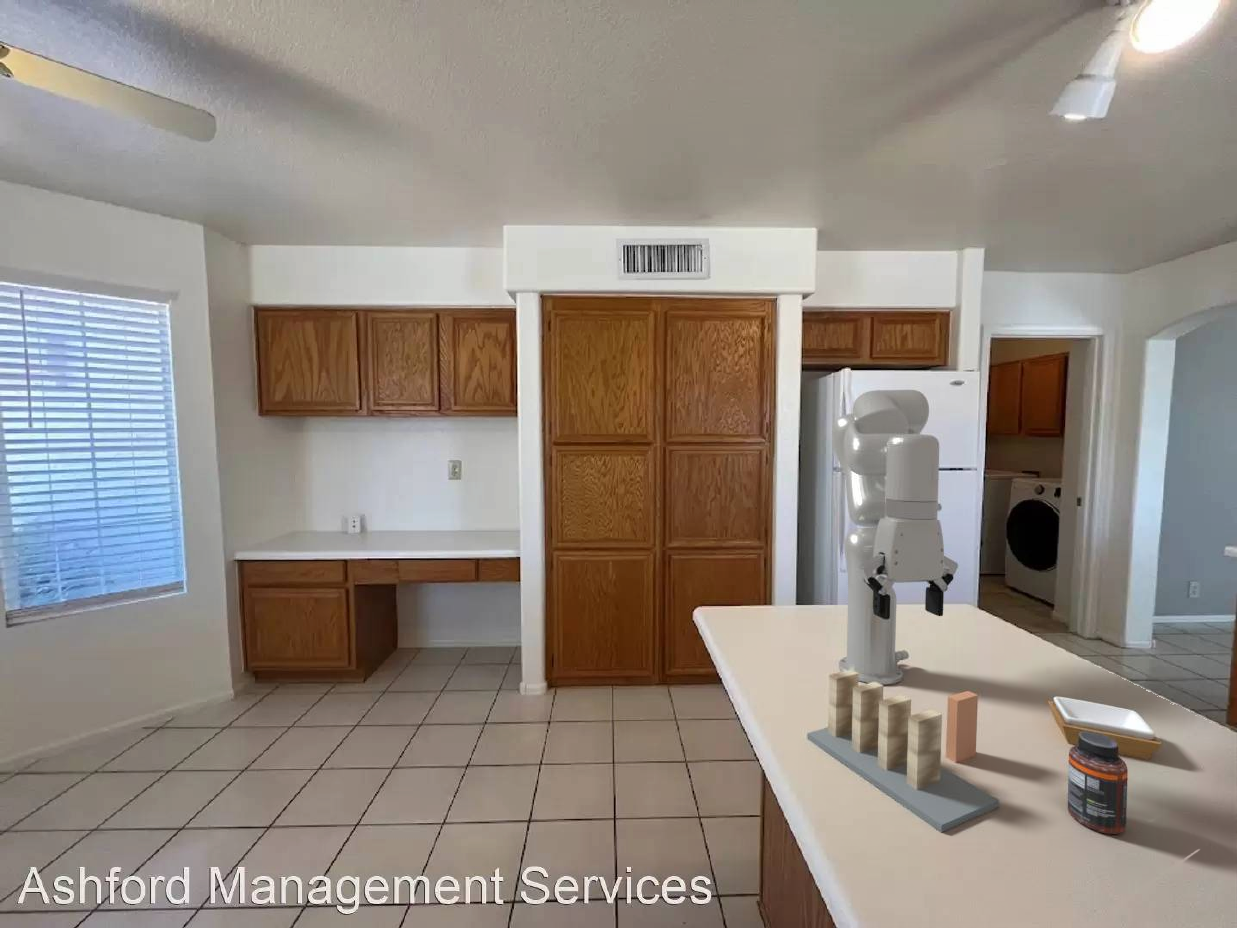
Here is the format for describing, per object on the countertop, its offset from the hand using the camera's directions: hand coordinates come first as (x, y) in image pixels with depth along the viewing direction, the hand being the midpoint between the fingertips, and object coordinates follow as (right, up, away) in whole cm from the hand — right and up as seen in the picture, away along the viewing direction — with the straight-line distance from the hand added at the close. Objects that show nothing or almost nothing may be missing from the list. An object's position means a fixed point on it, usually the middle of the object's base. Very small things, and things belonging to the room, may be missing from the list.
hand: (907, 615), depth 88 cm
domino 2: (-7, -21, 0) cm, 22 cm away
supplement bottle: (+17, -24, -16) cm, 33 cm away
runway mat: (-5, -23, -4) cm, 24 cm away
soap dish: (+35, -23, +4) cm, 42 cm away
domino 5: (+8, -23, -1) cm, 24 cm away
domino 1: (-9, -21, +5) cm, 23 cm away
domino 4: (-3, -22, -9) cm, 24 cm away
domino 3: (-5, -22, -4) cm, 23 cm away
